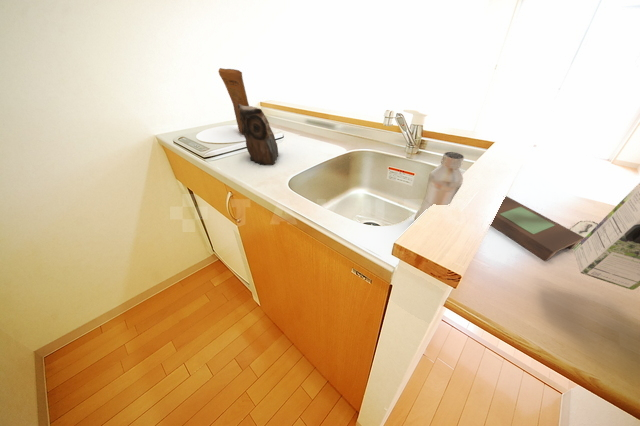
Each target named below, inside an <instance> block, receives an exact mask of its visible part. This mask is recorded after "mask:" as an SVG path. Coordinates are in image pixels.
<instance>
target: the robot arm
mask: <svg viewBox="0 0 640 426" xmlns="http://www.w3.org/2000/svg"><path fill="white" fill-rule="evenodd" d="M624 235H625V238H626V239H627V240H629V241H632V242H635V243H639V244H640V224H637V225H634V226H633V227H632V228H630V229H629V230H628V231H627V232H626V233H625V234H624Z"/></svg>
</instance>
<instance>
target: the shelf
mask: <svg viewBox="0 0 640 426" xmlns="http://www.w3.org/2000/svg"><path fill="white" fill-rule="evenodd" d="M505 196H506V197H505V199H504V200H503V202H502V204H501V206H500V208H499V210H498V212H497V214H496V216H495V218H494V220H493V222H492V224H491V225H490V227H493V228H494V229H496V230H497V231H499V232H500V233H502V234H503V235H505V236H506V237H508V238H509V239H510V240H512V241H513V242H515V243H517V244H518V245H520V246H521V247H523V248H524V249H526V250H528V251H529V252H530V253H532V254H534V255H535V256H537V257H538V258H540V259H541V260H542V261H544V262H546V261H548V260H550V259H552V258H553V257H554V256H555V255H557V253H558V252H560V251H561V250H564V249H566V248H568V249H569V250H571V249H574V248H575V247H576V246H577V245H578V244H579V243H580V242H581V241H582V240H583V238H584V237H582V236H581V235H579V234H577V233H575V232H573V231H571V230H570V228H568V227H566V226H564V225H562V224H560V223H558V222H556V221H554V220H552V219H550V218H548V217H547V216H544V215H543V214H541V213H539V212H537V211H535V210H533V209H532V208H530V207H528V206H526V205H524V204H522V203H520V202H519V201H516V200H515V199H513V198H511V197H509V196H507V195H505Z"/></svg>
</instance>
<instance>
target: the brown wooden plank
mask: <svg viewBox="0 0 640 426" xmlns="http://www.w3.org/2000/svg"><path fill="white" fill-rule="evenodd" d="M217 72H218V75H219V77H220V78H221V80H222V82H223V84H224V86H225V88H226V91H227V93H228V96H229V98H230V100H231V103H232V107H233V111H234V115H235V121H236V124H237V128H238V133H239V134H241V135H242V136H244V135H243V133H242V120H241V116H240V111H239V108H238V105H239V104H241V105H243V106H250V104H249V100H248V95H247V91H246V87H245V83H244V78H243V72H242V71H241V70H239V69H235V68H222V67H220V68H219V69H218V71H217Z"/></svg>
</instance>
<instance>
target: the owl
mask: <svg viewBox="0 0 640 426" xmlns="http://www.w3.org/2000/svg"><path fill="white" fill-rule="evenodd" d="M238 108H239V111H240V116H241V120H242V133H243V135H242V136H244V139H245V147H246V150H247V152H248V154H249V161H250V162H253V163H254V164H258V165H260V166H274V165H276V162H277V159H278V157H279V147H278V142H277V140H276V137H275V134H274V132H273V130H272V127H271V125H270V122H269V121H268V118H267V116H266V114H265V113H264V111H263V110H262V109H261V108H258V107H256V106H251V105H249V106H243V105H241V104H239V105H238Z"/></svg>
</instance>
